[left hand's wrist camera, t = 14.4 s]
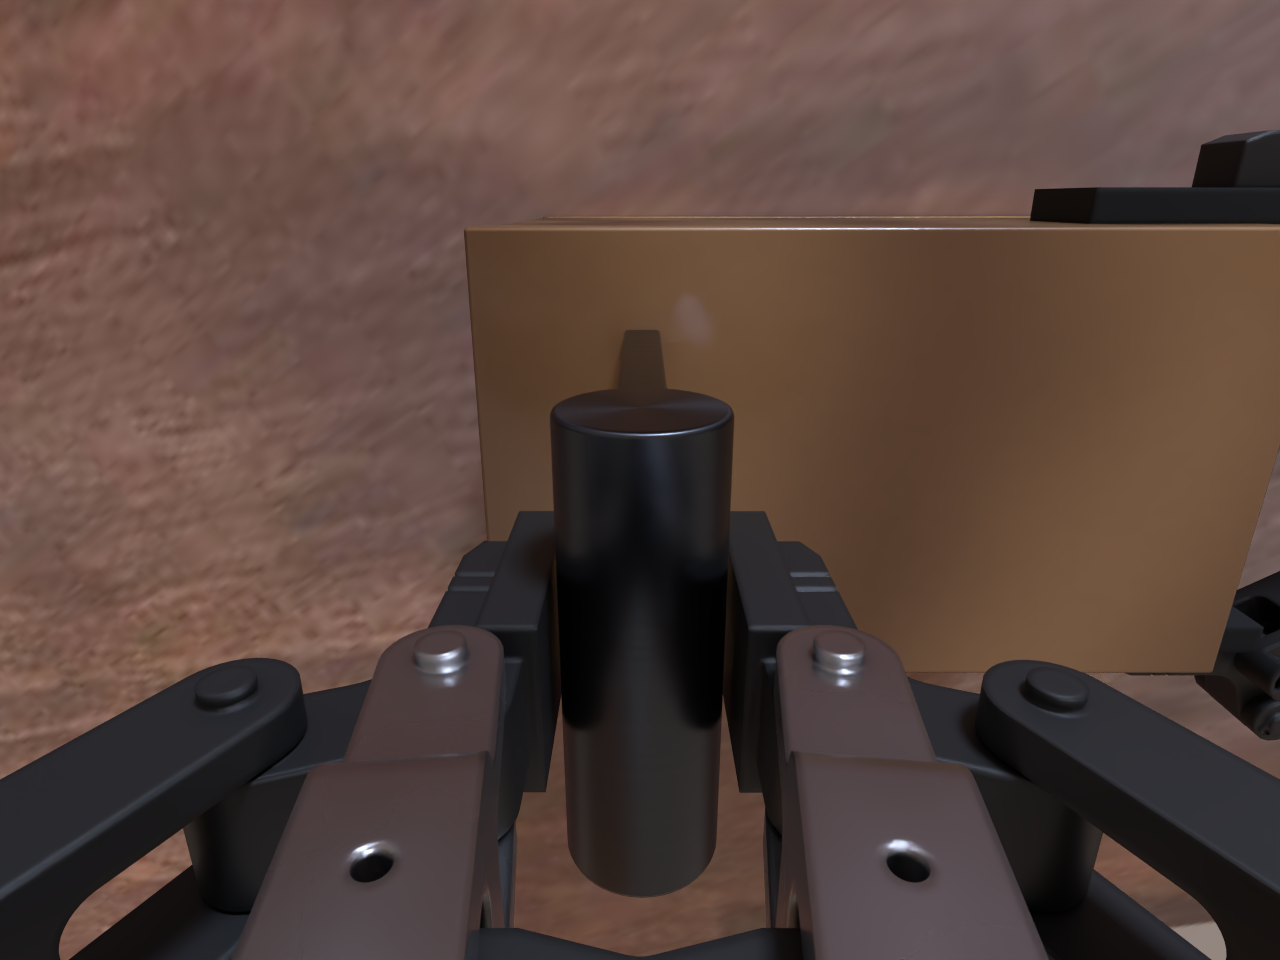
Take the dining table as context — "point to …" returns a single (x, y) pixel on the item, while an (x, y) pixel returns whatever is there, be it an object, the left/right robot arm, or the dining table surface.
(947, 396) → the lid
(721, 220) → the chest
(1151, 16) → the dining table surface
